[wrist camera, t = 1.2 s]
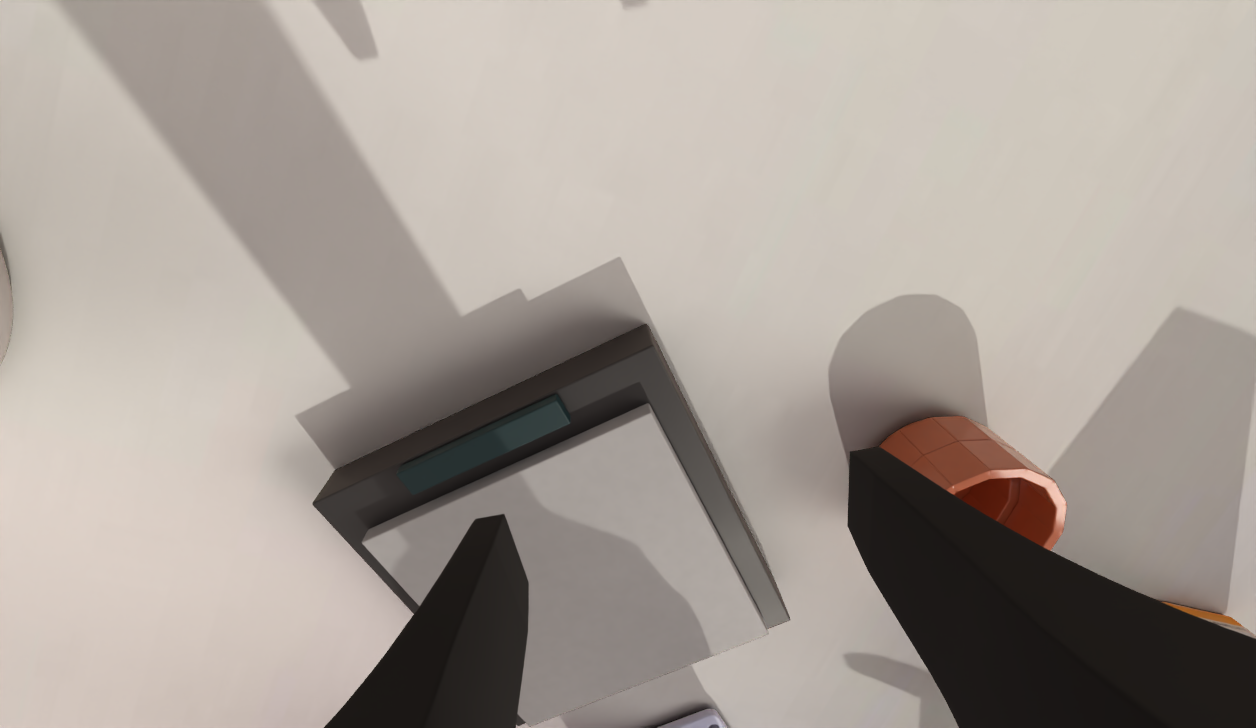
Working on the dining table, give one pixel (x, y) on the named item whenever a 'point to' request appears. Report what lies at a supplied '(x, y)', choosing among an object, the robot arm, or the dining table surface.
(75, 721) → the dining table surface
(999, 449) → the cup
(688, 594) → the scale
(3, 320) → the cylinder vase
